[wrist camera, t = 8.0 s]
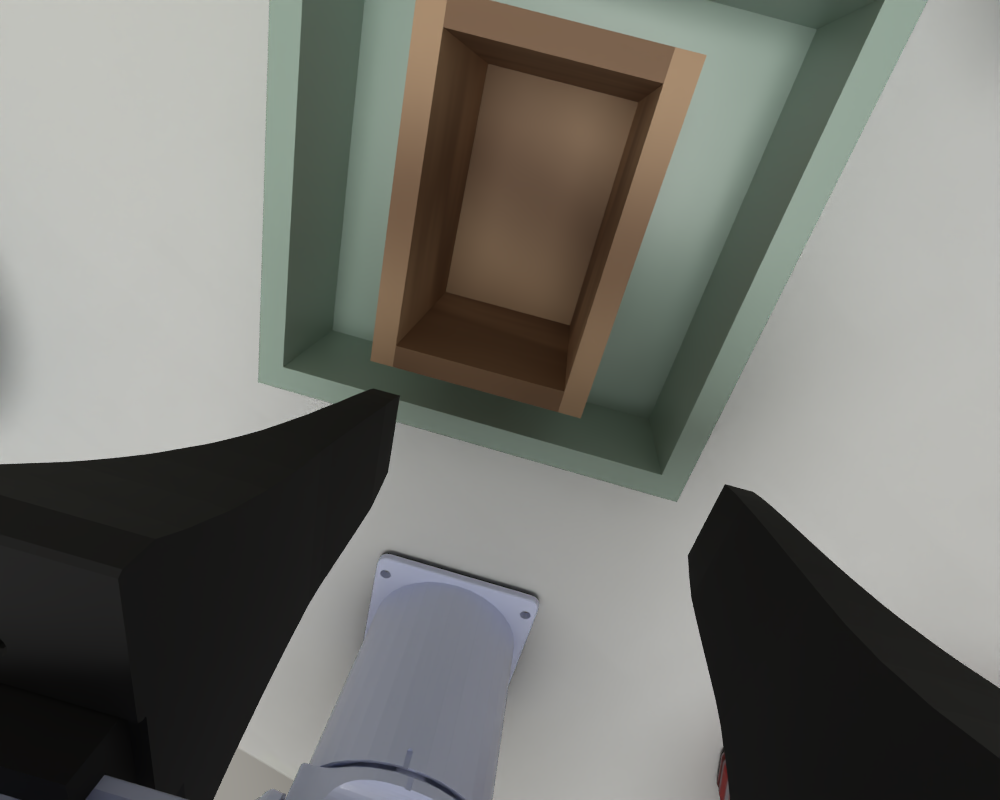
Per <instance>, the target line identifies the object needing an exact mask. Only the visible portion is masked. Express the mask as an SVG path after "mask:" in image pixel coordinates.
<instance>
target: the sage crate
mask: <svg viewBox="0 0 1000 800" xmlns="http://www.w3.org/2000/svg"><path fill="white" fill-rule="evenodd" d="M492 1H496V2H500V3H504V4H508V5H512V6H516V7H520V8H523V9H527V10H531V11H535V12H539V13H543V14H547V15H551V16H555V17H559V18H563V19H567V20H571V21H575V22H579V23H582V24H586V25H590V26H594V27H598V28H602V29H606V30H610V31H614V32H618V33H622V34H626V35H630V36H634V37H638V38H641V39H645V40H649V41H653V42H657V43H661V44H665V45H669V46H673V47H677V48H681V49H685V50H689V51H693V52H697V53H701V54H704V55H707V56H706V59H705V62H704V65H703V67H702V70H701V73H700V76H699V79H698V82H697V85H696V88H695V91H694V93H693V96H692V99H691V102H690V105H689V108H688V111H687V114H686V116H685V119H684V122H683V125H682V128H681V131H680V134H679V137H678V140H677V142H676V145H675V148H674V151H673V154H672V157H671V160H670V163H669V165H668V168H667V171H666V174H665V177H664V180H663V183H662V186H661V188H660V191H659V194H658V197H657V200H656V203H655V206H654V209H653V212H652V214H651V217H650V220H649V223H648V226H647V229H646V232H645V235H644V237H643V240H642V243H641V246H640V249H639V252H638V255H637V258H636V261H635V263H634V266H633V269H632V272H631V275H630V278H629V281H628V284H627V286H626V289H625V292H624V295H623V298H622V301H621V304H620V307H619V310H618V312H617V315H616V318H615V321H614V324H613V327H612V330H611V333H610V335H609V338H608V341H607V344H606V347H605V350H604V353H603V356H602V359H601V361H600V364H599V367H598V370H597V373H596V376H595V379H594V382H593V384H592V387H591V390H590V393H589V396H588V399H587V402H586V405H585V408H584V410H583V413H582V416H581V418H577V417H573V416H570V415H566V414H563V413H559V412H555V411H552V410H548V409H544V408H541V407H537V406H533V405H530V404H526V403H522V402H519V401H515V400H511V399H508V398H504V397H501V396H497V395H493V394H490V393H486V392H482V391H479V390H475V389H471V388H468V387H464V386H460V385H457V384H453V383H449V382H446V381H442V380H438V379H435V378H431V377H428V376H424V375H420V374H417V373H413V372H409V371H406V370H402V369H398V368H395V367H391V366H387V365H384V364H380V363H376V362H373V361H370V359H371V352H372V344H373V336H374V328H375V320H376V312H377V304H378V296H379V288H380V280H381V272H382V264H383V256H384V248H385V240H386V232H387V224H388V216H389V208H390V200H391V192H392V184H393V177H394V169H395V161H396V153H397V145H398V137H399V129H400V121H401V113H402V105H403V97H404V89H405V81H406V73H407V65H408V57H409V49H410V41H411V33H412V25H413V17H414V10H415V2H416V0H270V1H269V34H268V68H267V102H266V136H265V170H264V204H263V238H262V271H261V305H260V339H259V373H258V382H259V383H263V384H266V385H270V386H273V387H277V388H280V389H284V390H287V391H291V392H294V393H298V394H301V395H305V396H308V397H312V398H315V399H319V400H322V401H326V402H329V403H333V404H335V403H337V402H340V401H342V400H344V399H347V398H349V397H352V396H354V395H356V394H359V393H361V392H364V391H367V390H369V389H373V388H374V389H378V390H381V391H385V392H389V393H392V394H396V395H400V399H399V406H398V412H397V418H396V422H399V423H402V424H406V425H409V426H413V427H416V428H420V429H423V430H427V431H430V432H434V433H437V434H441V435H444V436H448V437H451V438H455V439H458V440H462V441H465V442H469V443H472V444H476V445H479V446H483V447H486V448H490V449H493V450H497V451H500V452H504V453H507V454H511V455H514V456H518V457H521V458H525V459H528V460H532V461H535V462H539V463H542V464H546V465H549V466H553V467H556V468H560V469H563V470H567V471H570V472H574V473H577V474H581V475H584V476H588V477H591V478H595V479H598V480H602V481H605V482H609V483H612V484H616V485H619V486H623V487H626V488H630V489H633V490H637V491H640V492H644V493H647V494H651V495H654V496H658V497H661V498H665V499H668V500H672V501H675V502H677V501H678V499H679V497H680V495H681V493H682V491H683V489H684V487H685V485H686V483H687V481H688V479H689V477H690V475H691V473H692V471H693V469H694V467H695V465H696V463H697V461H698V459H699V457H700V455H701V453H702V451H703V449H704V447H705V445H706V443H707V441H708V439H709V437H710V435H711V433H712V431H713V429H714V427H715V425H716V423H717V421H718V419H719V417H720V415H721V413H722V411H723V409H724V407H725V405H726V403H727V401H728V399H729V397H730V395H731V393H732V391H733V389H734V387H735V385H736V383H737V381H738V379H739V377H740V375H741V373H742V371H743V369H744V367H745V365H746V363H747V361H748V359H749V357H750V355H751V353H752V351H753V349H754V347H755V345H756V343H757V341H758V339H759V337H760V335H761V333H762V331H763V329H764V327H765V325H766V323H767V321H768V319H769V317H770V315H771V313H772V311H773V309H774V307H775V305H776V303H777V301H778V299H779V297H780V295H781V293H782V291H783V289H784V287H785V285H786V283H787V281H788V279H789V277H790V275H791V273H792V271H793V269H794V267H795V265H796V263H797V261H798V259H799V257H800V255H801V253H802V251H803V249H804V247H805V245H806V243H807V241H808V239H809V237H810V235H811V233H812V231H813V229H814V227H815V225H816V223H817V221H818V219H819V217H820V215H821V213H822V211H823V209H824V207H825V205H826V203H827V201H828V199H829V197H830V195H831V193H832V191H833V189H834V187H835V185H836V183H837V181H838V179H839V177H840V175H841V173H842V171H843V169H844V167H845V165H846V163H847V161H848V159H849V157H850V155H851V153H852V151H853V149H854V147H855V145H856V143H857V141H858V139H859V137H860V135H861V133H862V131H863V129H864V127H865V125H866V123H867V121H868V119H869V117H870V115H871V113H872V111H873V109H874V107H875V105H876V103H877V101H878V99H879V97H880V95H881V93H882V91H883V89H884V87H885V85H886V83H887V81H888V79H889V77H890V75H891V73H892V71H893V69H894V67H895V65H896V63H897V61H898V59H899V57H900V55H901V53H902V51H903V49H904V47H905V45H906V43H907V41H908V39H909V37H910V35H911V33H912V31H913V29H914V27H915V25H916V23H917V21H918V19H919V17H920V15H921V13H922V11H923V9H924V7H925V5H926V3H927V1H928V0H492Z"/></svg>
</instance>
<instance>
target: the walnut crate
mask: <svg viewBox="0 0 1000 800" xmlns="http://www.w3.org/2000/svg"><path fill="white" fill-rule="evenodd" d="M706 56H707V55H704V54H701V53H697V52H693V51H689V50H685V49H681V48H677V47H673V46H669V45H665V44H661V43H657V42H653V41H649V40H645V39H641V38H638V37H634V36H630V35H626V34H622V33H618V32H614V31H610V30H606V29H602V28H598V27H594V26H590V25H586V24H582V23H579V22H575V21H571V20H567V19H563V18H559V17H555V16H551V15H547V14H543V13H539V12H535V11H531V10H527V9H523V8H520V7H516V6H512V5H508V4H504V3H500V2H496V1H492V0H416V2H415V10H414V17H413V25H412V33H411V41H410V49H409V57H408V65H407V73H406V81H405V89H404V97H403V105H402V113H401V121H400V129H399V137H398V145H397V153H396V161H395V169H394V177H393V184H392V192H391V200H390V208H389V216H388V224H387V232H386V240H385V248H384V256H383V264H382V272H381V280H380V288H379V296H378V304H377V312H376V320H375V328H374V336H373V344H372V352H371V359H370V361H373V362H376V363H380V364H384V365H387V366H391V367H395V368H398V369H402V370H406V371H409V372H413V373H417V374H420V375H424V376H428V377H431V378H435V379H438V380H442V381H446V382H449V383H453V384H457V385H460V386H464V387H468V388H471V389H475V390H479V391H482V392H486V393H490V394H493V395H497V396H501V397H504V398H508V399H511V400H515V401H519V402H522V403H526V404H530V405H533V406H537V407H541V408H544V409H548V410H552V411H555V412H559V413H563V414H566V415H570V416H573V417H577V418H581V416H582V413H583V410H584V408H585V405H586V402H587V399H588V396H589V393H590V390H591V387H592V384H593V382H594V379H595V376H596V373H597V370H598V367H599V364H600V361H601V359H602V356H603V353H604V350H605V347H606V344H607V341H608V338H609V335H610V333H611V330H612V327H613V324H614V321H615V318H616V315H617V312H618V310H619V307H620V304H621V301H622V298H623V295H624V292H625V289H626V286H627V284H628V281H629V278H630V275H631V272H632V269H633V266H634V263H635V261H636V258H637V255H638V252H639V249H640V246H641V243H642V240H643V237H644V235H645V232H646V229H647V226H648V223H649V220H650V217H651V214H652V212H653V209H654V206H655V203H656V200H657V197H658V194H659V191H660V188H661V186H662V183H663V180H664V177H665V174H666V171H667V168H668V165H669V163H670V160H671V157H672V154H673V151H674V148H675V145H676V142H677V140H678V137H679V134H680V131H681V128H682V125H683V122H684V119H685V116H686V114H687V111H688V108H689V105H690V102H691V99H692V96H693V93H694V91H695V88H696V85H697V82H698V79H699V76H700V73H701V70H702V67H703V65H704V62H705V59H706Z"/></svg>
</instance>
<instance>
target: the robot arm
mask: <svg viewBox="0 0 1000 800" xmlns="http://www.w3.org/2000/svg"><path fill="white" fill-rule="evenodd" d="M399 399H400V395H396V394H392V393H389V392H385V391H381V390H378V389H374V388H373V389H369V390H367V391H364V392H361V393H359V394H356V395H354V396H352V397H349V398H347V399H344V400H342V401H340V402H337V403H335V404H332V405H330V406H327V407H325V408H322V409H320V410H317V411H315V412H313V413H310V414H307V415H305V416H302V417H299V418H296V419H293V420H290V421H287V422H285V423H282V424H279V425H276V426H273V427H270V428H267V429H264V430H261V431H257V432H254V433H250V434H247V435H243V436H239V437H235V438H231V439H227V440H223V441H219V442H215V443H210V444H205V445H199V446H194V447H188V448H182V449H176V450H171V451H165V452H159V453H153V454H146V455H137V456H129V457H120V458H110V459H99V460H88V461H73V462H53V463H26V464H0V800H213V799H214V797H215V795H216V792H217V790H218V788H219V786H220V784H221V781H222V779H223V777H224V775H225V773H226V771H227V768H228V766H229V764H230V762H231V760H232V757H233V755H234V753H235V751H236V749H237V747H238V745H239V743H240V741H241V739H242V736H243V734H244V732H245V730H246V728H247V726H248V724H249V722H250V720H251V718H252V716H253V713H254V711H255V709H256V707H257V705H258V703H259V701H260V699H261V697H262V695H263V693H264V691H265V689H266V687H267V685H268V683H269V681H270V679H271V677H272V675H273V673H274V671H275V669H276V667H277V665H278V663H279V661H280V659H281V657H282V655H283V653H284V651H285V649H286V647H287V645H288V643H289V641H290V639H291V637H292V635H293V633H294V631H295V629H296V628H297V626H298V624H299V622H300V620H301V618H302V616H303V614H304V612H305V610H306V608H307V606H308V605H309V603H310V601H311V600H312V598H313V596H314V595H315V593H316V591H317V590H318V588H319V586H320V585H321V583H322V582H323V580H324V579H325V577H326V576H327V574H328V573H329V571H330V570H331V568H332V567H333V565H334V564H335V562H336V561H337V559H338V558H339V556H340V555H341V553H342V552H343V550H344V549H345V547H346V546H347V544H348V542H349V541H350V539H351V538H352V536H353V535H354V533H355V532H356V530H357V529H358V527H359V526H360V524H361V523H362V521H363V520H364V518H365V516H366V515H367V513H368V512H369V510H370V509H371V507H372V505H373V503H374V500H375V498H376V496H377V494H378V492H379V490H380V488H381V486H382V484H383V482H384V479H385V477H386V475H387V473H388V468H389V462H390V456H391V449H392V443H393V437H394V431H395V424H396V418H397V412H398V406H399ZM688 563H689V578H690V588H691V597H692V602H693V607H694V611H695V616H696V620H697V624H698V629H699V633H700V637H701V641H702V645H703V649H704V653H705V658H706V662H707V666H708V670H709V674H710V678H711V682H712V686H713V691H714V695H715V699H716V704H717V709H718V714H719V719H720V724H721V731H722V738H723V746H724V753H725V761H726V768H727V776H728V785H729V795H730V800H1000V688H998V687H997V686H995V685H994V684H992V683H991V682H989V681H988V680H986V679H985V678H983V677H982V676H980V675H979V674H977V673H976V672H974V671H973V670H971V669H970V668H968V667H967V666H965V665H964V664H962V663H961V662H959V661H958V660H956V659H955V658H953V657H952V656H951V655H949V654H948V653H946V652H945V651H943V650H942V649H941V648H939V647H938V646H936V645H935V644H934V643H932V642H931V641H930V640H928V639H927V638H926V637H924V636H923V635H922V634H920V633H919V632H918V631H916V630H915V629H914V628H912V627H911V626H909V625H908V624H907V623H905V622H904V621H903V620H901V619H900V618H899V617H898V616H896V615H895V614H894V613H892V612H891V611H890V610H889V609H887V608H886V607H885V606H884V605H882V604H881V603H880V602H879V601H878V600H876V599H875V598H874V597H873V596H872V595H870V594H869V593H868V592H867V591H866V590H864V589H863V588H862V587H861V586H860V585H858V584H857V583H856V582H855V581H854V580H853V579H851V578H850V577H849V576H848V575H847V574H846V573H845V572H843V571H842V570H841V569H840V568H839V567H838V566H837V565H835V564H834V563H833V562H832V561H831V560H830V559H829V558H828V557H827V556H825V555H824V554H823V553H822V552H821V551H820V550H819V549H818V548H817V547H816V546H814V545H813V544H812V543H811V542H810V541H809V540H808V539H807V538H806V537H805V536H804V535H803V534H801V533H800V532H799V531H798V530H797V529H796V528H795V527H794V526H793V525H792V524H791V523H790V522H788V521H787V520H786V519H785V518H784V517H783V516H782V515H781V514H780V513H778V512H777V511H776V510H775V509H774V508H773V507H772V506H770V505H769V504H768V503H767V502H766V501H764V500H763V499H762V498H761V497H759V496H758V495H757V494H755V493H754V492H751V491H748V490H744V489H740V488H737V487H733V486H729V485H726V484H725V485H724V487H723V489H722V491H721V493H720V495H719V497H718V499H717V501H716V503H715V504H714V506H713V508H712V510H711V512H710V514H709V516H708V518H707V520H706V522H705V524H704V526H703V528H702V529H701V531H700V533H699V535H698V537H697V539H696V541H695V543H694V545H693V547H692V549H691V551H690V553H689V555H688ZM385 570H387V571H389V572H386V571H385ZM538 607H539V601H538V599H537V598H536V597H534V596H532V595H529V594H525V593H522V592H519V591H515V590H512V589H508V588H505V587H501V586H498V585H495V584H491V583H488V582H484V581H481V580H477V579H474V578H471V577H467V576H464V575H460V574H457V573H453V572H450V571H447V570H443V569H440V568H436V567H433V566H429V565H426V564H423V563H419V562H416V561H412V560H409V559H405V558H402V557H399V556H395V555H392V554H383V555H382V556H381V557H380V559H379V561H378V563H377V568H376V573H375V579H374V584H373V590H372V596H371V601H370V607H369V612H368V618H367V624H366V629H365V635H364V640H363V643H362V646H361V648H360V650H359V652H358V655H357V657H356V659H355V661H354V664H353V666H352V668H351V670H350V673H349V675H348V677H347V679H346V682H345V684H344V686H343V688H342V691H341V693H340V695H339V697H338V700H337V702H336V704H335V706H334V709H333V711H332V713H331V716H330V718H329V720H328V722H327V725H326V727H325V729H324V731H323V734H322V736H321V738H320V740H319V743H318V745H317V747H316V749H315V752H314V754H313V756H312V758H311V761H310V763H309V764H307V763H303V764H301V766H300V768H299V770H298V773H297V775H296V777H295V779H294V781H293V784H292V786H291V788H290V790H289V792H288V795H287V797H286V799H285V796H286V794H284V793H282V792H280V791H278V790H275V789H270V790H268V791H266V792H265V793H264V794H263V795H262V796H261V797H259V798H257V799H256V800H492V799H493V792H494V785H495V778H496V771H497V763H498V756H499V749H500V742H501V735H502V728H503V721H504V714H505V707H506V699H507V692H508V686H509V683H510V680H511V678H512V675H513V673H514V670H515V668H516V665H517V663H518V660H519V658H520V655H521V653H522V650H523V647H524V645H525V642H526V640H527V637H528V635H529V632H530V630H531V627H532V625H533V622H534V619H535V617H536V614H537V612H538ZM523 611H527V612H528V613H525V612H523Z"/></svg>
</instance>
